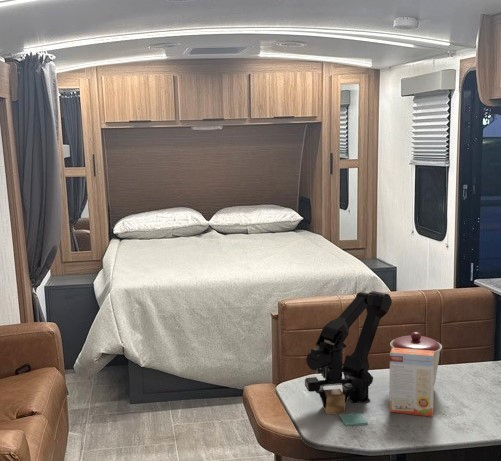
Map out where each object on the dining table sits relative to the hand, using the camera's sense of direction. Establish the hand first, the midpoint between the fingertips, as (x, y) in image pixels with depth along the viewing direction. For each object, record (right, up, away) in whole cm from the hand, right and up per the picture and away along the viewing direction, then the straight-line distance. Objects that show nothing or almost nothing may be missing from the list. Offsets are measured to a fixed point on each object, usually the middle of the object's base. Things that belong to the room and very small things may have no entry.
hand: (333, 406), depth 211 cm
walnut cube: (0, -1, 0) cm, 1 cm away
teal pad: (+5, -2, -8) cm, 10 cm away
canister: (+32, +2, +17) cm, 36 cm away
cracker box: (+26, -1, -2) cm, 26 cm away
